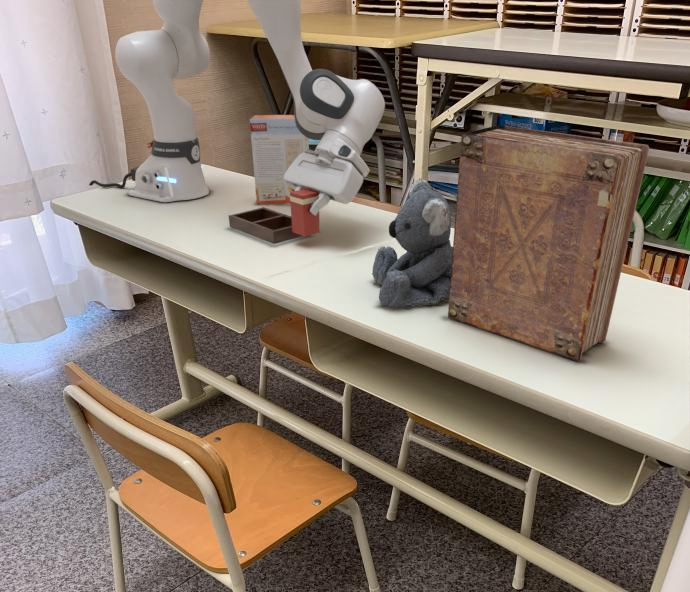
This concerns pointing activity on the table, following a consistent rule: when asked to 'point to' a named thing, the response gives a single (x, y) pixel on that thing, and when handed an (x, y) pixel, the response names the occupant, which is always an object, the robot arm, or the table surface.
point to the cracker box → (274, 155)
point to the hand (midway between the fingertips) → (302, 210)
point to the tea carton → (304, 212)
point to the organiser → (264, 224)
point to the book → (542, 234)
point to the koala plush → (417, 252)
